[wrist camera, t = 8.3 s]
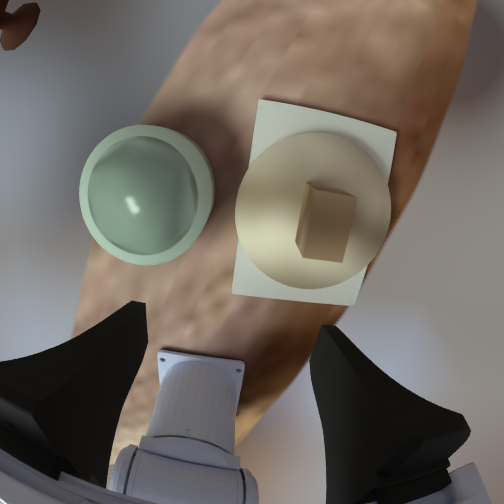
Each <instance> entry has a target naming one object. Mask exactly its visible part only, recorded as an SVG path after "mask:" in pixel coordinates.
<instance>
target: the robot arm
mask: <svg viewBox="0 0 504 504" xmlns="http://www.w3.org/2000/svg"><path fill="white" fill-rule="evenodd" d="M147 344H148V333H147V320H146V303H142V302H136V301H131V302H129V303H127V304H126V305H124V306H123V307H122V308H120V309H119V310H117V311H116V312H114V313H113V314H112V315H110V316H109V317H107V318H106V319H104V320H103V321H101V322H100V323H98V324H97V325H95V326H93V327H92V328H90V329H88V330H87V331H85V332H84V333H82V334H80V335H78V336H77V337H75V338H73V339H71V340H69V341H67V342H65V343H63V344H60V345H58V346H56V347H53V348H50V349H48V350H45V351H42V352H40V353H37V354H33V355H30V356H27V357H22V358H18V359H13V360H8V361H1V362H0V501H1V502H3V503H4V504H258V502H259V493H258V485H257V482H256V479H255V477H254V476H253V475H252V474H251V472H250V471H249V470H248V469H246V468H240V457H239V456H235V455H234V446H235V417H236V412H237V407H238V402H239V396H240V391H241V386H242V380H243V375H244V370H245V363H244V362H243V361H239V360H230V359H222V358H214V357H206V356H199V355H192V354H186V353H180V352H174V351H168V350H159V351H158V354H157V357H158V370H159V381H160V390H159V393H158V396H157V399H156V403H155V406H154V409H153V413H152V416H151V420H150V423H149V427H148V430H147V434H146V436H142V438H141V441H140V445H139V448H138V446H136V445H132V444H130V445H129V446H128V447H126V448H123V449H122V450H121V451H120V453H119V455H118V457H117V459H116V462H115V465H114V468H113V472H112V476H111V481H110V488H109V490H108V489H106V483H107V475H108V468H109V461H110V456H111V451H112V445H113V441H114V437H115V432H116V428H117V424H118V421H119V417H120V414H121V410H122V407H123V405H124V402H125V400H126V397H127V395H128V393H129V390H130V388H131V386H132V384H133V381H134V379H135V377H136V375H137V372H138V370H139V368H140V366H141V363H142V361H143V358H144V354H145V351H146V348H147ZM162 358H164V359H162ZM309 362H310V373H311V380H312V386H313V390H314V394H315V398H316V402H317V406H318V410H319V414H320V418H321V423H322V428H323V435H324V444H325V455H326V456H325V457H326V485H327V489H326V491H327V492H326V504H491V500H490V498H489V496H488V493H487V491H486V488H485V486H484V483H483V481H482V479H481V477H480V474H479V472H478V470H477V468H476V465H475V463H474V462H471V463H469V464H467V465H465V466H462V467H460V468H458V469H456V470H454V471H452V472H451V473H448V471H447V469H446V468H448V467H449V466H450V462H449V460H448V458H449V457H450V456H451V455H452V454H453V453H454V452H456V451H457V450H458V449H459V448H460V447H461V446H462V445H463V444H464V443H465V441H466V440H467V439H468V437H469V435H470V432H471V430H470V428H469V426H468V424H467V422H466V420H465V418H464V416H463V415H462V414H460V413H457V412H454V411H451V410H448V409H446V408H443V407H440V406H438V405H436V404H434V403H432V402H429V401H427V400H425V399H424V398H421V397H420V396H418V395H416V394H415V393H413V392H411V391H410V390H408V389H406V388H405V387H403V386H402V385H400V384H399V383H398V382H396V381H395V380H393V379H392V378H391V377H389V376H388V375H387V374H386V373H384V372H383V371H382V370H381V369H380V368H378V367H377V366H376V365H375V364H374V363H373V362H372V361H371V360H370V359H369V358H367V357H366V356H365V355H364V354H363V353H362V352H361V351H360V350H359V349H358V348H357V347H356V346H355V345H354V344H353V343H352V342H351V340H350V339H349V338H348V337H347V336H346V335H345V334H344V333H343V332H342V331H341V330H339V328H338V327H336V326H331V325H322V326H321V329H320V332H319V335H318V338H317V341H316V344H315V347H314V349H313V352H312V355H311V358H310V361H309ZM237 369H241V370H237Z"/></svg>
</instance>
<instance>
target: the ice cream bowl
mask: <svg viewBox="0 0 504 504" xmlns="http://www.w3.org/2000/svg"><path fill="white" fill-rule="evenodd" d="M8 1H9V0H0V29H1V30H3V31H2V34H1V38H0V42H1V45H2V47H3V49H4V50H14V49H16V48H17V47H18V46H19V45H21V44H22V43H23V42H24V41H25V40H26V39H27V37H28V36H29V35H30V33H31V32H32V30H33V29H34V27H35V26H36V24H37V20H38V17H39V14H40V8H39V6H38V4H37V3H28V4H23V5H22V6H21V7H20V8H19V9H17V10H16V11H15V12H14V13H13V14H11V13H8V12H5V9H6V7H7V4H8Z"/></svg>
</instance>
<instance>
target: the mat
mask: <svg viewBox="0 0 504 504" xmlns="http://www.w3.org/2000/svg"><path fill="white" fill-rule="evenodd" d="M311 132H316V133H328V134H334V135H337V136H340V137H343V138H345V139H348V140H350V141H352V142H354V143H355V144H357V145H358V146H360V147H361V148H362V149H364V150H365V151H366V152H367V153H368V154H369V155H370V156H371V157H372V158H373V159H374V160H375V162H376V163H377V165H378V166H379V168H380V169H381V171H382V173H383V175H384V177H385V179H386V182H387V185H388V181H389V176H390V170H391V165H392V159H393V154H394V148H395V141H396V135H397V132H395V131H392V130H389V129H386V128H383V127H380V126H376V125H373V124H370V123H367V122H363V121H360V120H356V119H352V118H349V117H345V116H341V115H337V114H333V113H329V112H325V111H320V110H316V109H311V108H307V107H302V106H297V105H291V104H286V103H280V102H274V101H268V100H261V99H259V101H258V108H257V114H256V121H255V127H254V134H253V141H252V147H251V154H250V161H249V167H250V166H251V164H252V163H253V161H254V160H255V159H256V158H257V157H258V156H259V155H260V154H261V153H262V152H263V151H265V150H266V149H267V148H268V147H270V146H271V145H273V144H275V143H276V142H278V141H280V140H283V139H285V138H287V137H290V136H294V135H298V134H303V133H311ZM366 269H367V266H366V267H365V268H364V269H363V270H361V271H360V272H359V273H358V274H356V275H355V276H353V277H352V278H350V279H348V280H346V281H344V282H342V283H340V284H337V285H334V286H331V287H326V288H321V289H300V288H294V287H290V286H287V285H284V284H281V283H279V282H277V281H275V280H273V279H271V278H270V277H268V276H267V275H265V274H264V273H263V272H262V271H260V270H259V269H258V268H257V267H256V266H255V265H254V264H253V263H252V261H251V260H250V258H249V257H248V256H247V254H246V252H245V251H244V249H243V247H242V245H241V242H240V239H238V247H237V254H236V262H235V269H234V277H233V285H232V293H231V294H239V295H247V296H255V297H264V298H273V299H282V300H292V301H302V302H313V303H324V304H335V305H348V306H355V303H356V300H357V297H358V294H359V291H360V288H361V285H362V282H363V278H364V275H365V272H366Z"/></svg>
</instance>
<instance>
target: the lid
mask: <svg viewBox="0 0 504 504" xmlns="http://www.w3.org/2000/svg"><path fill="white" fill-rule="evenodd" d="M390 218H391V198H390V193H389V188H388V185H387V182H386V179H385V177H384V175H383V173H382V171H381V169H380V168H379V166H378V165H377V163H376V162H375V160H374V159H373V158H372V157H371V156H370V155H369V154H368V153H367V152H366V151H365V150H364V149H362V148H361V147H360V146H358V145H357V144H355V143H354V142H352V141H350V140H348V139H345V138H343V137H340V136H337V135H334V134H328V133H316V132H311V133H303V134H298V135H294V136H290V137H287V138H285V139H283V140H280V141H278V142H276V143H275V144H273V145H271V146H270V147H268V148H267V149H266V150H265V151H263V152H262V153H261V154H260V155H259V156H258V157H257V158H256V159H255V160H254V161H253V163H252V164H251V166H250V167H249V168H248V170H247V171H246V173H245V175H244V177H243V179H242V181H241V184H240V187H239V190H238V194H237V199H236V206H235V221H236V228H237V233H238V237H239V239H240V242H241V245H242V247H243V249H244V251H245V252H246V254H247V256H248V257H249V258H250V260H251V261H252V263H253V264H254V265H255V266H256V267H257V268H258V269H259V270H260V271H262V272H263V273H264V274H265V275H267V276H268V277H270V278H271V279H273V280H275V281H277V282H279V283H281V284H284V285H287V286H290V287H294V288H300V289H321V288H326V287H331V286H334V285H337V284H340V283H342V282H344V281H346V280H348V279H350V278H352V277H353V276H355V275H356V274H358V273H359V272H360V271H361V270H363V269H364V268H365V267H366V266H367V265H368V264H369V263H370V262H371V261H372V259H373V258H374V257H375V256H376V254H377V253H378V251H379V249H380V248H381V246H382V244H383V242H384V240H385V238H386V235H387V232H388V228H389V224H390Z"/></svg>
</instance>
